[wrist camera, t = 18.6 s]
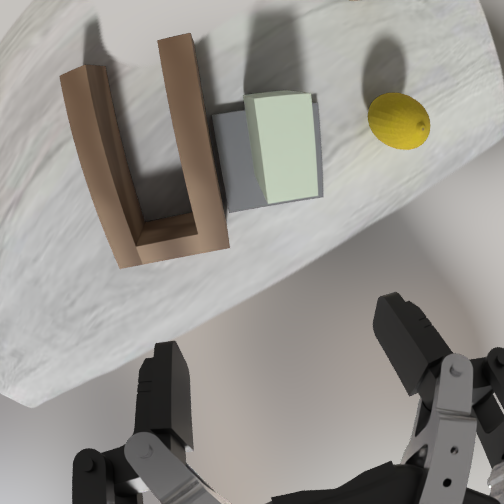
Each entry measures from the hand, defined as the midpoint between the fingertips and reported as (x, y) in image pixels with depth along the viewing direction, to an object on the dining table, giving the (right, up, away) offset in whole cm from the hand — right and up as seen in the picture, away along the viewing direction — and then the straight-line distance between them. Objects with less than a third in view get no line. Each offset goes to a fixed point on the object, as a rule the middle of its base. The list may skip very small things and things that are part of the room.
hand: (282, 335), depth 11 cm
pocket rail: (-11, +13, +15) cm, 22 cm away
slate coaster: (+1, +13, +17) cm, 21 cm away
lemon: (+12, +18, +16) cm, 27 cm away
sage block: (+1, +14, +15) cm, 21 cm away
